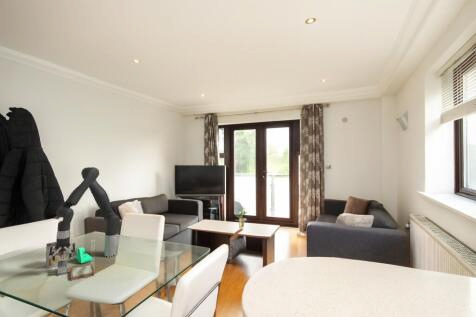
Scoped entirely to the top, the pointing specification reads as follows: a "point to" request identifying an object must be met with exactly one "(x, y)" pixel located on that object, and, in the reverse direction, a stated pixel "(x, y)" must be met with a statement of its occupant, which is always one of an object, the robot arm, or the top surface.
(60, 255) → the coffee box
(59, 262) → the housing
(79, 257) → the camera mount
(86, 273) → the walnut stand
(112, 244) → the robot arm
